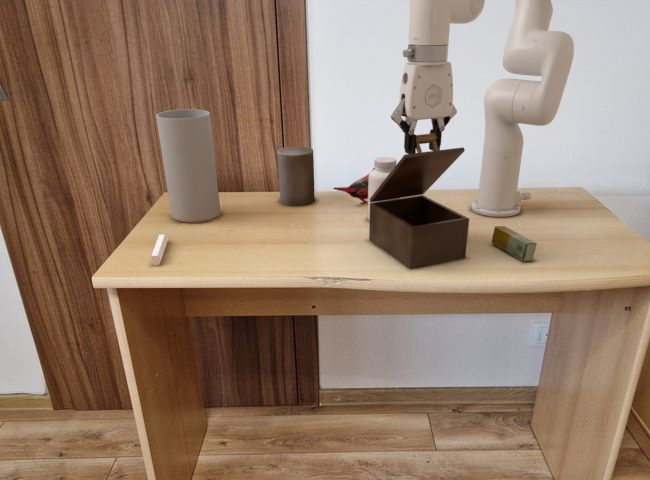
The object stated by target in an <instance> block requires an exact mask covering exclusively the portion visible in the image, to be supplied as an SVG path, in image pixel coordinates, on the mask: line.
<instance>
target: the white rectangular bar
mask: <svg viewBox="0 0 650 480" xmlns="http://www.w3.org/2000/svg"><path fill="white" fill-rule="evenodd" d="M168 241H169V238H168V235H166V234H164V233H162V234H161V233H160V234H158V237H157V239H156V242H155V245H154V246H153V247H154V248H153V250H152V253H151V256H150V258H149V262H150V263H151V264H152V266H160V265H161V262H162V259H163V256H164V253H165V250H166V247H167V244H168Z"/></svg>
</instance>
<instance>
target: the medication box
mask: <svg viewBox="0 0 650 480" xmlns="http://www.w3.org/2000/svg"><path fill="white" fill-rule="evenodd" d="M490 243H492V244H493V245H495V246H496V247H499V248H500V249H502V250H503V251H504V252H507V253H508V254H510V255H512V256H513V257H515V258H517V259H519V260H520V261H521V262H523V263H524V262H525V263H528V262H533V259H534V256H535V252H536V249H537V245H538V243H537V242H535V241H533V240H531V239H529V238H527V237H525V236H524V235H521V234H520V233H518V232H516V231H514V230H512V229H510V228H509V227H507V226H505V225H495V226H494V229H493V233H492V237H491V241H490Z"/></svg>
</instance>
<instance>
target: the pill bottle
mask: <svg viewBox="0 0 650 480" xmlns="http://www.w3.org/2000/svg"><path fill="white" fill-rule="evenodd" d="M397 163H398V162H397V159H396V158H394V157H390V156H380V157H376V158H375V159H374V163H373V165H374V167H373V168H375V169H374V170H371V171H370V172H369V173H370V174H369V173H368V174H369V181H368V199H367V201H368V204H367V220H368V221H369V222H370V203H372V202H370V198H371V197H372V195H373V194H374V193H375V192H376V190H377V189H378V188H379V187H380V185H381V184H382V183H383V181H384V180H385V179H386V178H387V176H388V175H389V174H390V173H391V171H392V170H393V169H394V167H395V166H396V165H397ZM396 199H399V198H396ZM389 200H393V199H389ZM383 201H386V200H383ZM376 202H379V201H376Z"/></svg>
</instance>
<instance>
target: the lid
mask: <svg viewBox="0 0 650 480" xmlns="http://www.w3.org/2000/svg"><path fill="white" fill-rule="evenodd" d="M415 135H416V153H413V154H408V153H405V154H403V156H401V159H400V160H398V162H397V163H396V166H395V167H394V169H393V170H392V171H391V173H390V174H389V175H388V176H387V178H386V179H385V180H384V181H383V183H382V184H381V185H380V187H379V188H378V189H377V190H376V192H375V193H374V194H373V195H372V197H371V198H370V202H376V201H383V200H389V199H396V198H406V197H413V196H420V195H424V194H425V193H427V191H428V190H429V189H430V188H432V186H433V185H434V184H435V183H436V182H437V181H438V180H439V179H440V178H441V177H442V175H443V174H444V173H446V171H448V169H449V168H450V167H451V166H452V165H453V164H454V163H455V162H456V161H457V160H458V159H459V158H460V156H461V155H463V154H464V153H465V148H464V147H455V148H446V149H440V150H439V148H438V145H437V142H436V141H437V135H436V134H435V133H431V134H430V133H423V134H415ZM429 143H432V145H433V148H434V151H432V150H430V151H422V148H421V145H424V144H429Z"/></svg>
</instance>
